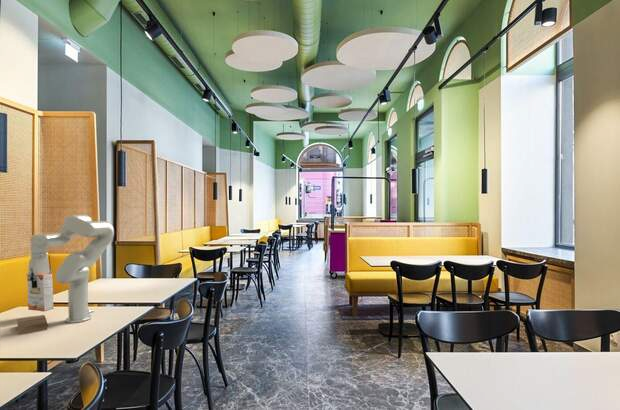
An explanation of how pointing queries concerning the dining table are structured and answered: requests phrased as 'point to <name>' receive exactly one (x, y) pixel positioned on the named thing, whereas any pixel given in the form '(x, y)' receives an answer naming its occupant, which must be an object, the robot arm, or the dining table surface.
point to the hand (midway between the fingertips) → (40, 286)
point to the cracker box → (41, 293)
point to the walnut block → (32, 324)
